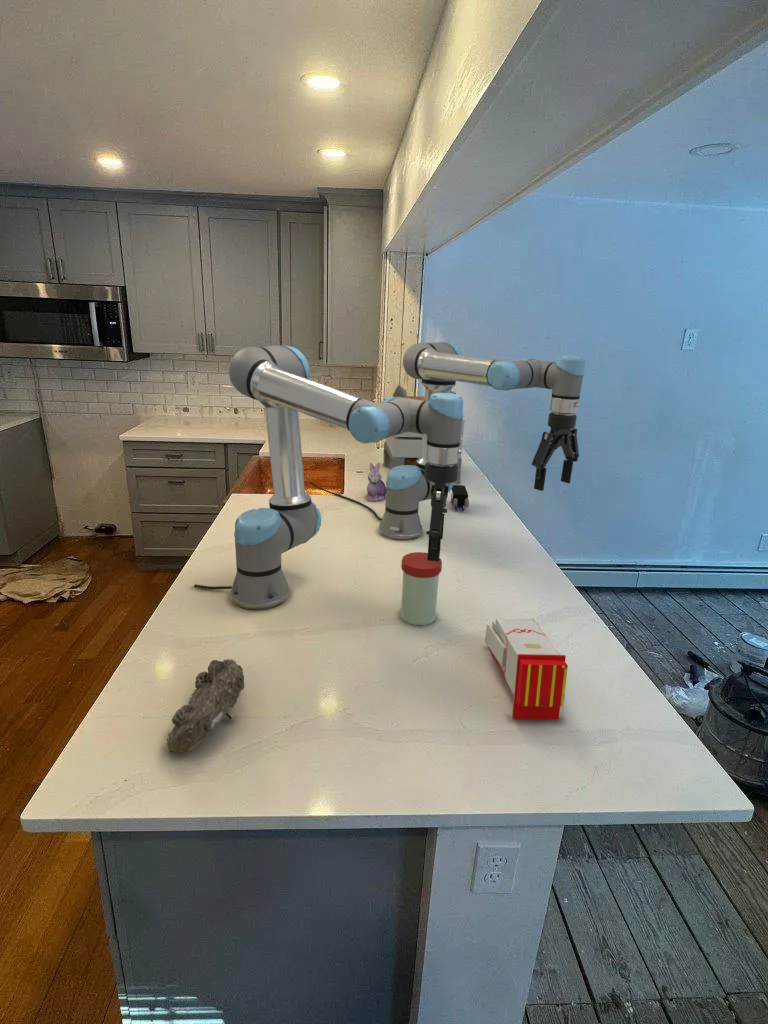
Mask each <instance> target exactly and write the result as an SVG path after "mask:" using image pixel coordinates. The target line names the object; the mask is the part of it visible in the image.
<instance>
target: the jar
mask: <svg viewBox="0 0 768 1024" xmlns="http://www.w3.org/2000/svg"><path fill="white" fill-rule="evenodd" d="M439 576H440V574H439V575H437V576H435V577H430V578H418V577H413V576H410V575H408V574H406V573H404V572H403V571H402V587H401V602H400V603H401V605H400V618H401V620H402V621H404V622H405V623H407V624H410V625H413V626H426V625H430V624H432V623H433V622H434V621H435V620H436V612H437V601H438V589H439V587H438V586H439V578H440V577H439Z"/></svg>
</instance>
